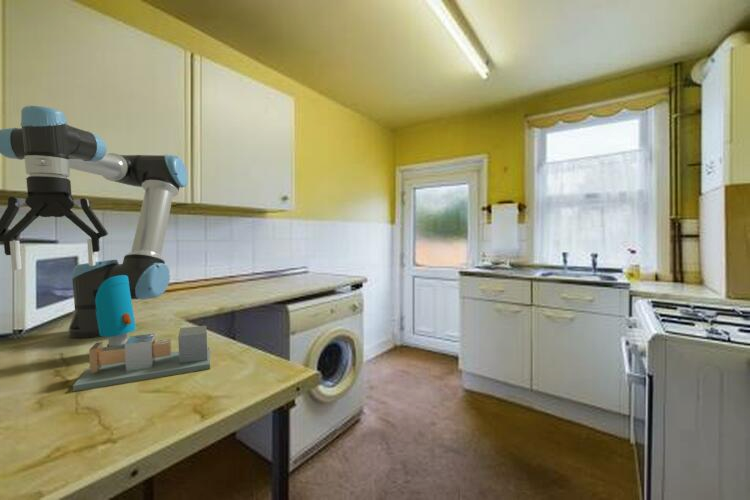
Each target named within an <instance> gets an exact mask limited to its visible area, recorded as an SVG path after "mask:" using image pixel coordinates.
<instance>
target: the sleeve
mask: <svg viewBox="0 0 750 500" xmlns="http://www.w3.org/2000/svg"><path fill="white" fill-rule="evenodd" d="M153 341H156V334H155V333H148V334H146V333H145V334H140V335H139V334H138V335H131V336H130V337H129V338H127V342H126V343H125V359H126V372H131V371H138V370H144V369H151V368H153V365H154V363H155V360H156V358H153V354H152V343H153Z"/></svg>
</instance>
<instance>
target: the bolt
mask: <svg viewBox="0 0 750 500" xmlns="http://www.w3.org/2000/svg"><path fill="white" fill-rule="evenodd" d="M88 350H89V351H88V352H89V366H90V372H91V373H95V372H98V371H99V369H100V368H101V367H102V366H103V365H110V364H116V363H123V362H126V359H125V345H119V346H111V347H107V346H104V345H103V342H102V341H101V342H95V343H94V344H93V346H92V347H91V348H90V349H88ZM171 353H172V339H171V338H168V339H167V338H165V339H159V340H155V341H153V343H152V354H153V358H158V357H165V356H170V355H171Z"/></svg>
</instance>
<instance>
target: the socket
mask: <svg viewBox="0 0 750 500" xmlns="http://www.w3.org/2000/svg"><path fill="white" fill-rule="evenodd" d="M207 330H208V329H207V325H199V326H198V325H197V326H190V327H182V328H179V333H178V336H177V339H178V342H177V343H178V352H179V365H181V364H188V363H194V362H200V361H207V348H208V335H207V334H208V333H207Z"/></svg>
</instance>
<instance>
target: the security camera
mask: <svg viewBox="0 0 750 500" xmlns="http://www.w3.org/2000/svg"><path fill="white" fill-rule="evenodd" d="M93 296H94V303H95V310H96V316H97V322H98V329H99V334H100V336H99V337H104V338H108V339H107V341H108V343H107V345H106V347H111V346H119V345H125V343H126V342H127V341H128V334H129V333H131V332H134V331H136V330H137V327H136V322H135V315H134V310H133V303H132V302H133V301H132V299H131V295H130V286H129V280H128V276H127V275H119V276H114V277H110V278H108V279H106V280H105V281H104V282H103V283H102V284H101V285H100V287H99V289H94V290H93Z"/></svg>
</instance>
